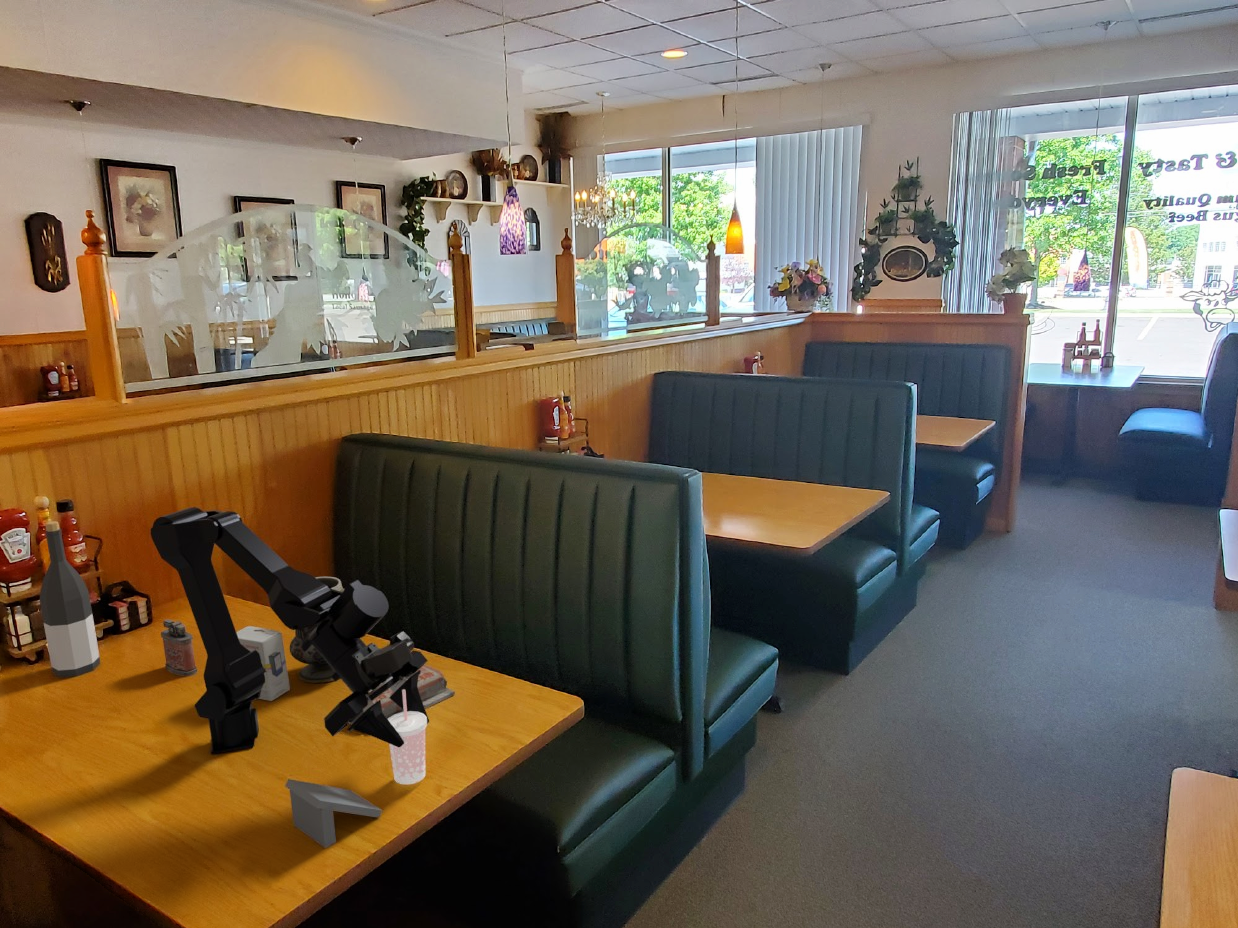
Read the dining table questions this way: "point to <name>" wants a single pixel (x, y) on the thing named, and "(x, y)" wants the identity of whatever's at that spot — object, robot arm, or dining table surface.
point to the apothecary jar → (316, 663)
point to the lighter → (178, 649)
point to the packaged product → (428, 687)
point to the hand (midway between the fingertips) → (414, 734)
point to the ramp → (324, 808)
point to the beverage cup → (409, 745)
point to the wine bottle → (67, 613)
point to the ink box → (268, 659)
